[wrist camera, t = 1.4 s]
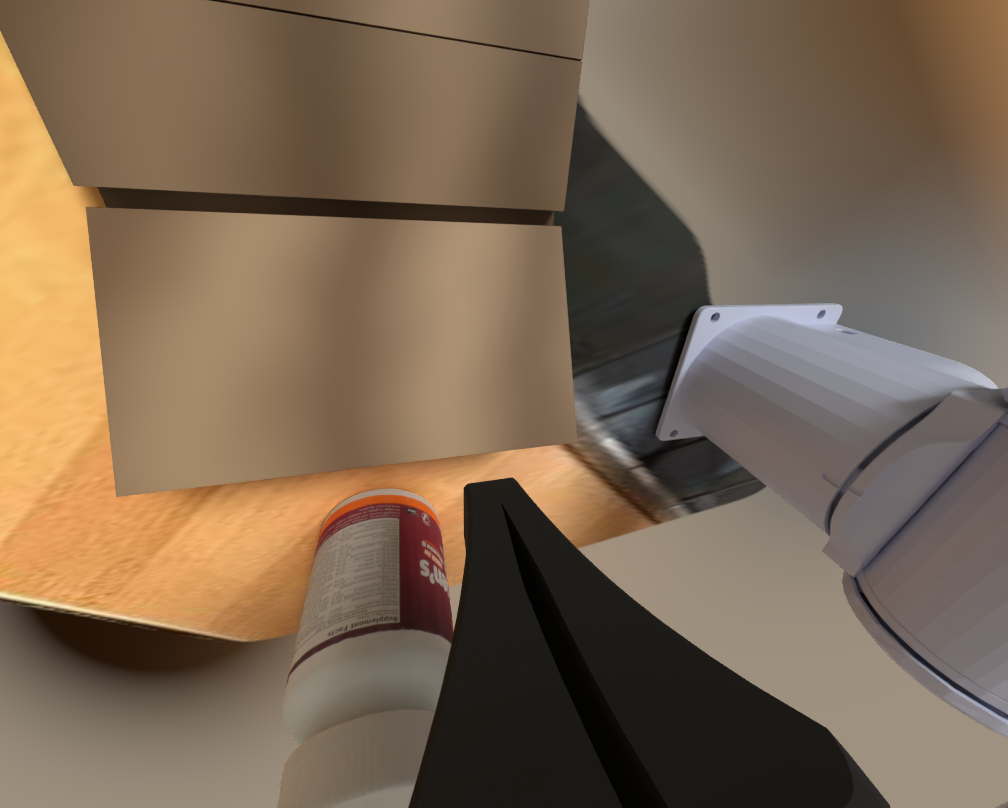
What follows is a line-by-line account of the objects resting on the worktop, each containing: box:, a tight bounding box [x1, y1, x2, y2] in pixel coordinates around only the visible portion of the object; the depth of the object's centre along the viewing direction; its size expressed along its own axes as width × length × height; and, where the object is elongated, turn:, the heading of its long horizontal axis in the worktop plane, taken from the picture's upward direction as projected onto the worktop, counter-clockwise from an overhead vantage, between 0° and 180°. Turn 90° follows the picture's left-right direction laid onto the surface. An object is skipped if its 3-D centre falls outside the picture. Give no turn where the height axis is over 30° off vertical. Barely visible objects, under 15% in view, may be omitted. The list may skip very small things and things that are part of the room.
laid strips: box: [0, 0, 589, 226], centre depth 10 cm, size 14×9×1 cm, turn 86°
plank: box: [86, 207, 577, 497], centre depth 12 cm, size 14×8×1 cm
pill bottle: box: [277, 488, 454, 808], centre depth 15 cm, size 6×6×11 cm
